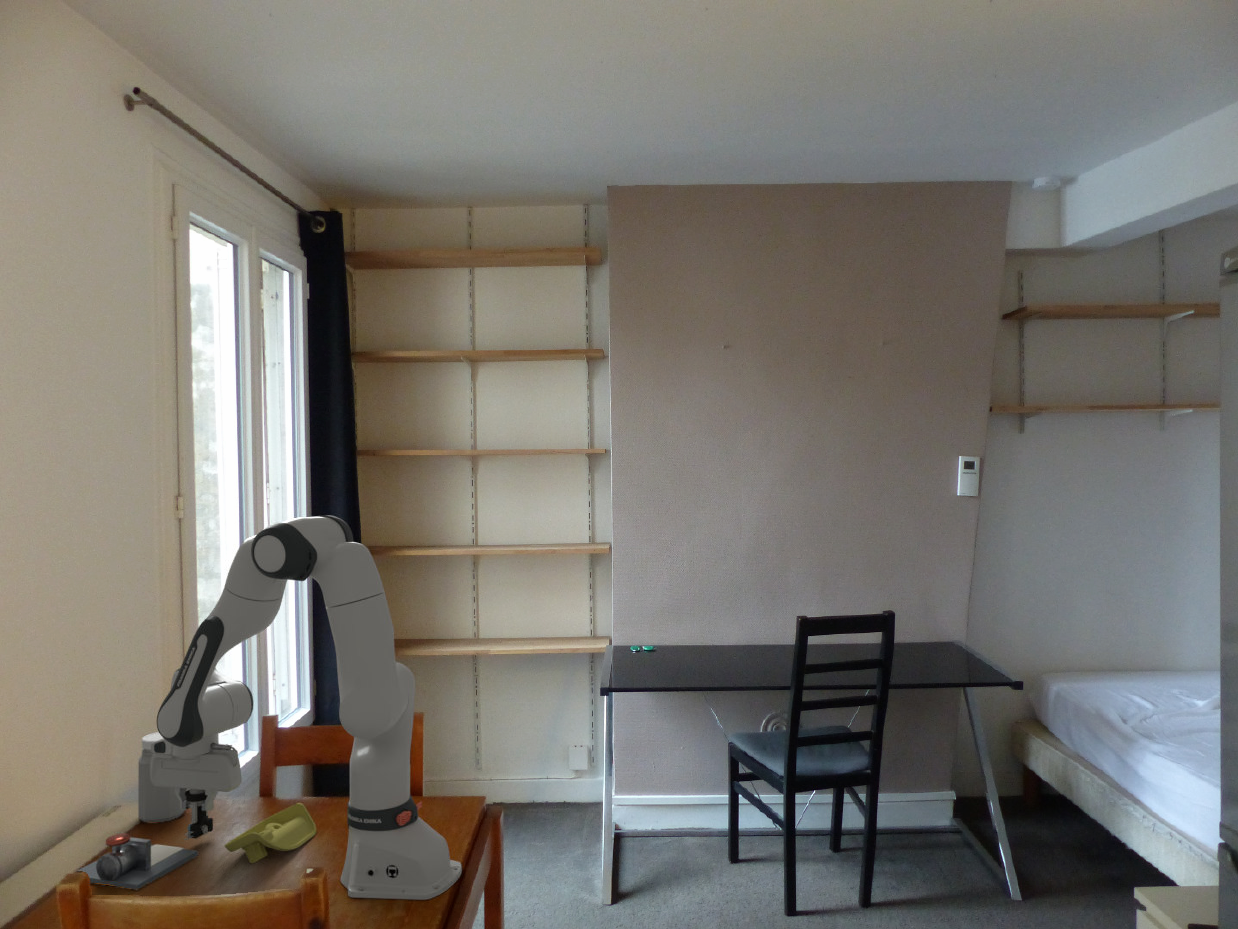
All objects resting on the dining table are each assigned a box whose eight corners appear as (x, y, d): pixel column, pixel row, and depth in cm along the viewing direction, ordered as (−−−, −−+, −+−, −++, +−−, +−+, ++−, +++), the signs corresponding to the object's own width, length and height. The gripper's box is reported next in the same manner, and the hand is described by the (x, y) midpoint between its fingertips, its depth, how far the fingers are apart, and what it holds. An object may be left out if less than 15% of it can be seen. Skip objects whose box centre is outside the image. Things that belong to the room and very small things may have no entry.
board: (198, 855, 173) (198, 850, 173) (137, 890, 158) (137, 884, 158) (134, 846, 177) (134, 841, 177) (68, 880, 162) (68, 874, 162)
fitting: (150, 870, 165) (151, 832, 165) (124, 884, 159) (124, 845, 159) (117, 865, 167) (117, 828, 167) (89, 879, 161) (89, 841, 161)
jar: (180, 822, 190) (180, 740, 190) (131, 827, 187) (131, 744, 187) (191, 806, 199) (191, 728, 199) (144, 810, 197) (144, 731, 197)
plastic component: (265, 819, 186) (306, 799, 185) (278, 851, 185) (319, 831, 184) (214, 851, 166) (259, 829, 166) (228, 887, 165) (274, 865, 165)
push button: (196, 843, 174) (195, 793, 174) (174, 841, 175) (173, 791, 176) (219, 830, 180) (218, 782, 181) (198, 828, 182) (197, 780, 182)
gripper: (247, 740, 178) (249, 807, 178) (167, 735, 184) (169, 800, 184) (225, 749, 172) (227, 819, 172) (143, 744, 178) (145, 811, 178)
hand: (196, 809), depth 178 cm, fingers closed on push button, 4 cm apart
